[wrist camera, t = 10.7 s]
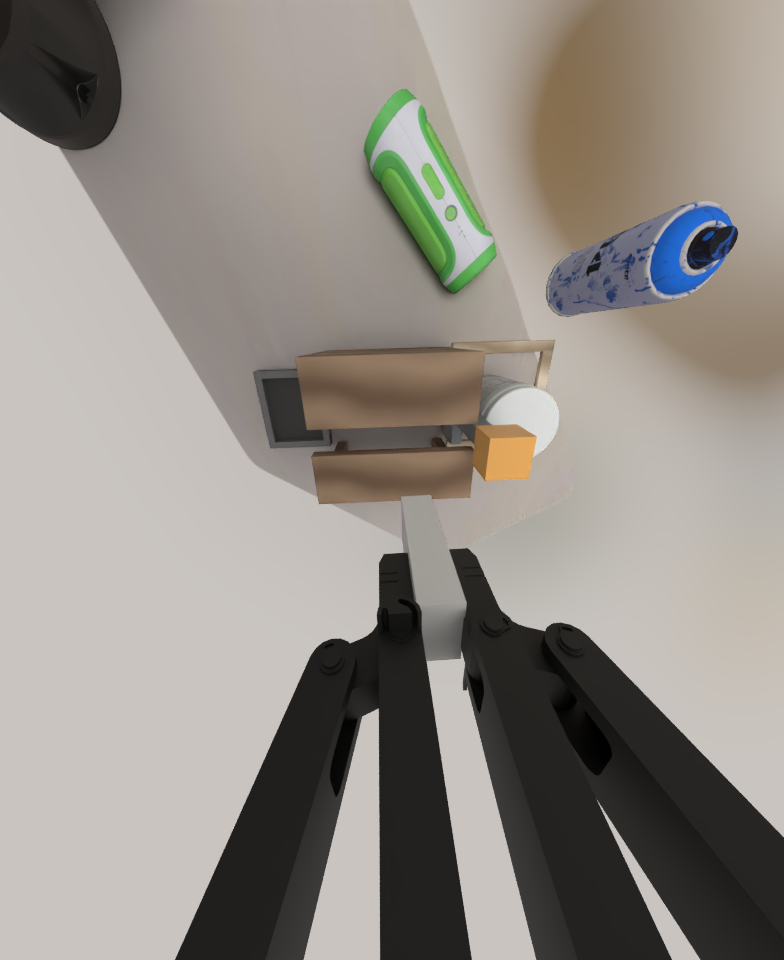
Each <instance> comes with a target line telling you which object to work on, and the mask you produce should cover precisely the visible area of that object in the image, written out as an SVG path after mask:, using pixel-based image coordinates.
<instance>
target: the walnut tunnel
mask: <svg viewBox="0 0 784 960" xmlns="http://www.w3.org/2000/svg"><path fill="white" fill-rule="evenodd" d="M295 360H296V366H297V372H298V378H299V384H300V390H301V396H302V403H303V409H304V415H305V421H306V427H307V430H322V429H349V428H376V427H402V426H429V425H456V424H478V416H479V407H480V397H481V388H482V379H483V369H484V360H485V351H478V350H469V349H460V348H450V347H428V348H396V349H364V350H332V351H323V352H319V353H314V354H309V355H304V356H299V357H295ZM473 451H474V449H473V448H472V446H454V447H446V445H445V444H444V442H443V441H442V439H441V438H432V447H429V448H403V449H378V450H353V451H347V442H338V443H337V446H336V448H335V451H327V452H314V453H313V455H312V457H311V458H312V464H313V470H314V476H315V483H316V489H317V495H318V501H319V504H333V503H356V502H379V501H401V497H404V496H421V495H431V497H432V499H448V498H470V492H471V482H472V473H473V464H472V461H473Z"/></svg>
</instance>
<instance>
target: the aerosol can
mask: <svg viewBox="0 0 784 960" xmlns="http://www.w3.org/2000/svg"><path fill="white" fill-rule="evenodd" d="M737 236H738V231H737V228H736V227H734V226H732V223H731V220H730V218H729V216H728V214H727V212H726V210H725V209H724V208H723V207H721V206H720V205H719V204H718V203H715V202H708V201H700V202H693V203H690V204H686V205H683V206H680V207H678V208H676V209H673V210H671V211H669V212H666V213H664V214H662V215H660V216H658V217H655V218H653V219H651V220H648V221H647V222H644V223H642V224H639V225H637V226H635V227H633V228H630V229H628V230H626V231H624V232H621V233H619V234H617V235H615V236H612V237H610V238H608V239H605V240H603V241H601V242H599V243H597V244H594V245H592V246H590V247H587V248H585V249H583V250H580V251H576V252H573V253H570V254H569V255H567V256H566V257H564V258H562V259H561V260H560V261H559V263H558V264H557V265H556V266H555V267H554V268H553V270H552V272H551V274H550V276H549V278H548V282H547V286H546V299H547V302H548V306H549V307H550V308H551V310H552V311H553V312H554V313H556V314H558V315H559V316H567V317H570V316H574V315H577V314H581V313H589V312H597V311H605V310H613V309H621V308H628V307H636V306H644V305H652V304H659V303H666V302H670V301H674V300H678V299H680V298H683V297H686V296H687V295H689V294H690V293H692V292H694V291H696V290H698V289H699V288H700V287H701V286H702V285H703V284H704V283H706V282H707V281H708V280H709V279H710V278H711V277H712V275H713V274H714V273H715V271H716V270H717V269H718V267H719V266H720V265H721V263H722V262H723V260H724V259H725V257H726V254H728V253H729V251H730V250H731V249H732V247H733V246H734V244H735V242H736V240H737Z"/></svg>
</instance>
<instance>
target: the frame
mask: <svg viewBox="0 0 784 960" xmlns="http://www.w3.org/2000/svg"><path fill="white" fill-rule="evenodd" d="M554 343H555V340H537V341H504V342H472V343H452V348H460V349H469V350H478V351H485V353H502V352H534V351H541V352H540V358H539V363H538V369H537V374H536V380H535V385H534V386H536V387H538V388H540V389H541V390H543V391H545V388H546V383H547V378H548V374H549V369H550V364H551V359H552V353H553V348H554ZM454 446H472V448H473V449H474V444H473V443H472V442H471V440H461V444H456V445H451V444H450V442H449V441H448V440H446V447H454Z"/></svg>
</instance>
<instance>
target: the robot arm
mask: <svg viewBox="0 0 784 960" xmlns="http://www.w3.org/2000/svg"><path fill="white" fill-rule="evenodd" d="M119 104H120V75H119V67H118V62H117V57H116V53H115V49H114V46H113V42H112V39H111V36H110V34H109V31H108V28H107V26H106V23H105V21H104V19H103V17H102V14H101V12H100V10H99V8H98V6H97V4H96V3H95V1H94V0H0V112H1V113H2V114H3V115H4V116H6V117H7V118H8V119H10V120H11V121H13V122H14V123H15V124H17V125H19V126H20V127H22V128H24V129H25V130H27V131H29V132H30V133H32V134H34V135H35V136H37V137H39V138H40V139H42V140H44V141H46V142H48V143H51V144H53V145H56V146H59V147H63V148H68V149H84V148H88V147H91V146H93V145H96V144H97V143H99V142H100V141H102V140H103V139H104V138H105V137H106V136H107V134H108V133H109V132H110V130H111V129H112V127H113V125H114V123H115V120H116V117H117V114H118V110H119ZM401 508H402V541H403V549H404V553H396V554H384V555H383V557H382V559H381V561H380V563H379V608H378V612H377V622H378V624H377V626H376V627H375V629H374V630H373V632H372V633H370V634H369V635H368V636H366V637H364V638H362V639H360V640H357V641H355V642H353V643H349V642H348V641H345V640H343V639H330V640H328V641H325V642H323V643H322V644H320V645H319V646H318V647H317V648H316V649H315V650H314V652H313V653H312V655H311V656H310V659H309V661H308V663H307V665H306V668H305V670H304V672H303V674H302V676H301V679H300V681H299V683H298V685H297V688H296V690H295V692H294V695H293V697H292V699H291V701H290V703H289V706H288V708H287V710H286V712H285V715H284V717H283V719H282V721H281V724H280V726H279V728H278V730H277V733H276V735H275V737H274V739H273V741H272V744H271V746H270V748H269V750H268V753H267V755H266V757H265V760H264V762H263V764H262V766H261V769H260V771H259V773H258V775H257V777H256V780H255V782H254V784H253V786H252V789H251V791H250V793H249V796H248V798H247V800H246V802H245V804H244V806H243V809H242V811H241V813H240V816H239V818H238V820H237V822H236V824H235V827H234V829H233V831H232V833H231V836H230V838H229V840H228V842H227V845H226V847H225V849H224V851H223V854H222V856H221V858H220V861H219V863H218V865H217V867H216V869H215V871H214V874H213V876H212V878H211V881H210V883H209V885H208V887H207V889H206V892H205V894H204V896H203V899H202V901H201V903H200V905H199V908H198V910H197V912H196V914H195V916H194V919H193V921H192V923H191V925H190V928H189V930H188V932H187V934H186V936H185V939H184V941H183V943H182V945H181V948H180V950H179V952H178V954H177V957H176V959H175V960H303V959H304V955H305V951H306V947H307V943H308V938H309V934H310V929H311V926H312V922H313V918H314V913H315V910H316V905H317V901H318V897H319V892H320V889H321V885H322V881H323V876H324V872H325V868H326V864H327V859H328V856H329V852H330V847H331V843H332V839H333V835H334V831H335V827H336V823H337V818H338V814H339V810H340V806H341V802H342V797H343V793H344V789H345V785H346V781H347V777H348V772H349V769H350V765H351V760H352V756H353V752H354V748H355V744H356V740H357V736H358V731H359V727H360V723H361V719H362V716H364V715H366V714H368V713H370V712H372V711H374V710H376V709H378V708H379V801H380V803H379V809H380V810H379V812H380V813H379V814H380V960H472V958H471V951H470V945H469V939H468V932H467V925H466V919H465V912H464V906H463V899H462V892H461V886H460V880H459V873H458V866H457V860H456V853H455V846H454V840H453V833H452V827H451V820H450V813H449V807H448V801H447V794H446V787H445V782H444V774H443V768H442V761H441V754H440V748H439V741H438V735H437V728H436V722H435V715H434V709H433V702H432V695H431V689H430V682H429V676H428V669H427V662H426V661H433V660H448V659H460V658H461V650H462V653H463V657H464V661H465V669H464V678H463V690H467V687H468V691H469V695H470V699H471V703H472V706H473V711H474V715H475V718H476V723H477V726H478V730H479V734H480V738H481V742H482V746H483V750H484V754H485V758H486V762H487V766H488V770H489V774H490V778H491V782H492V786H493V789H494V794H495V798H496V802H497V805H498V809H499V813H500V817H501V821H502V825H503V829H504V833H505V837H506V841H507V845H508V849H509V853H510V857H511V861H512V865H513V868H514V873H515V877H516V881H517V885H518V888H519V892H520V896H521V900H522V904H523V908H524V912H525V916H526V920H527V924H528V928H529V932H530V936H531V940H532V944H533V948H534V952H535V956H536V959H537V960H672V959H671V957H670V955H669V953H668V951H667V949H666V946H665V944H664V942H663V940H662V938H661V936H660V933H659V931H658V929H657V927H656V925H655V923H654V921H653V919H652V916H651V914H650V912H649V910H648V908H647V906H646V904H645V902H644V900H643V897H642V895H641V893H640V891H639V889H638V887H637V884H636V882H635V880H634V878H633V876H632V874H631V872H630V870H629V868H628V865H627V863H626V861H625V859H624V857H623V855H622V853H621V851H620V849H619V846H618V844H617V842H616V840H615V838H614V836H613V833H612V831H611V829H610V827H609V825H608V823H607V821H606V819H605V816H604V814H603V812H602V810H601V808H600V806H599V804H598V802H599V803H600V805H601V806H602V808H603V809H604V811H605V813H606V814H607V815H608V817H609V819H610V820H611V821H612V823H613V825H614V826H615V828H616V830H617V831H618V832H619V834H620V836H621V837H622V839H623V840H624V842H625V843H626V845H627V846H628V848H629V849H630V851H631V853H632V854H633V856H634V857H635V859H636V860H637V862H638V864H639V865H640V867H641V868H642V870H643V871H644V873H645V874H646V876H647V878H648V879H649V881H650V882H651V883H652V885H653V887H654V888H655V890H656V891H657V893H658V894H659V896H660V898H661V899H662V901H663V902H664V904H665V905H666V907H667V908H668V910H669V911H670V913H671V915H672V916H673V918H674V919H675V921H676V922H677V924H678V925H679V927H680V929H681V930H682V932H683V933H684V935H685V936H686V938H687V939H688V941H689V942H690V944H691V945H692V947H693V949H694V950H695V952H696V953H697V955H698V956H699V958H700V960H784V837H782V835H781V834H780V833H779V832H778V831H777V830H776V829H775V828H774V827H773V826H772V825H771V824H770V823H769V822H768V821H767V820H766V819H765V818H764V817H763V816H762V815H761V814H760V813H759V812H758V811H757V810H756V809H755V808H754V807H753V806H752V804H751V803H750V802H749V801H748V800H747V799H746V798H745V797H744V796H743V795H742V794H741V793H740V792H739V791H738V790H737V789H736V788H735V787H734V786H733V785H732V784H731V783H730V782H729V781H728V780H727V779H726V778H725V777H724V776H723V775H722V774H721V773H720V772H719V770H718V769H717V768H716V767H715V766H714V765H713V764H712V763H711V762H710V761H709V760H708V759H707V758H706V757H705V756H704V755H703V754H702V753H701V752H700V751H699V750H698V749H697V748H696V747H695V746H694V745H693V744H692V743H691V742H690V741H689V740H688V739H687V737H686V736H685V735H684V734H683V733H681V732H680V730H679V729H678V728H677V727H676V726H675V725H674V724H673V723H672V722H671V721H670V720H669V719H668V718H667V717H666V716H665V715H664V714H663V713H662V712H661V711H660V710H659V709H658V708H657V707H656V706H655V705H654V704H653V702H652V701H650V699H649V698H648V697H647V696H646V695H644V694H643V692H642V691H641V690H640V689H639V688H638V687H637V686H636V685H635V684H634V683H633V682H632V681H631V680H630V679H629V678H628V677H627V676H626V675H625V674H624V673H623V672H622V671H621V670H620V669H619V667H617V665H616V664H615V663H614V662H613V661H612V660H611V659H610V658H609V657H608V656H607V655H606V654H605V653H604V652H603V651H602V650H601V649H600V648H599V647H598V646H597V645H596V644H595V643H594V642H593V641H592V640H591V639H590V638H589V637H588V636H587V635H586V634H585V633H583V632H582V631H581V630H580V629H578V628H576V627H573V626H572V625H569V624H564V623H553V624H551V625H550V626H548V627H547V628H546V631H541V630H537V629H533V628H528V627H524V626H521V625H518V624H517V623H515V622H513V621H512V620H511V619H510V618H509V617H508V616H507V615H505V613H503V612H502V611H501V610H500V608H499V606H498V604H497V602H496V600H495V597H494V595H493V593H492V591H491V588H490V586H489V584H488V582H487V579H486V577H485V576H484V573H483V570H482V568H481V566H480V564H479V562H478V559H477V557H476V556H475V555H474V554H473V553H472V552H471V551H470V550H469V549H468V548H465V549H449V548H448V545H447V542H446V539H445V536H444V533H443V530H442V527H441V524H440V521H439V518H438V515H437V512H436V509H435V506H434V503H433V500H432V497H431V495H421V496H404V497H401ZM597 800H598V802H597Z"/></svg>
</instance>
